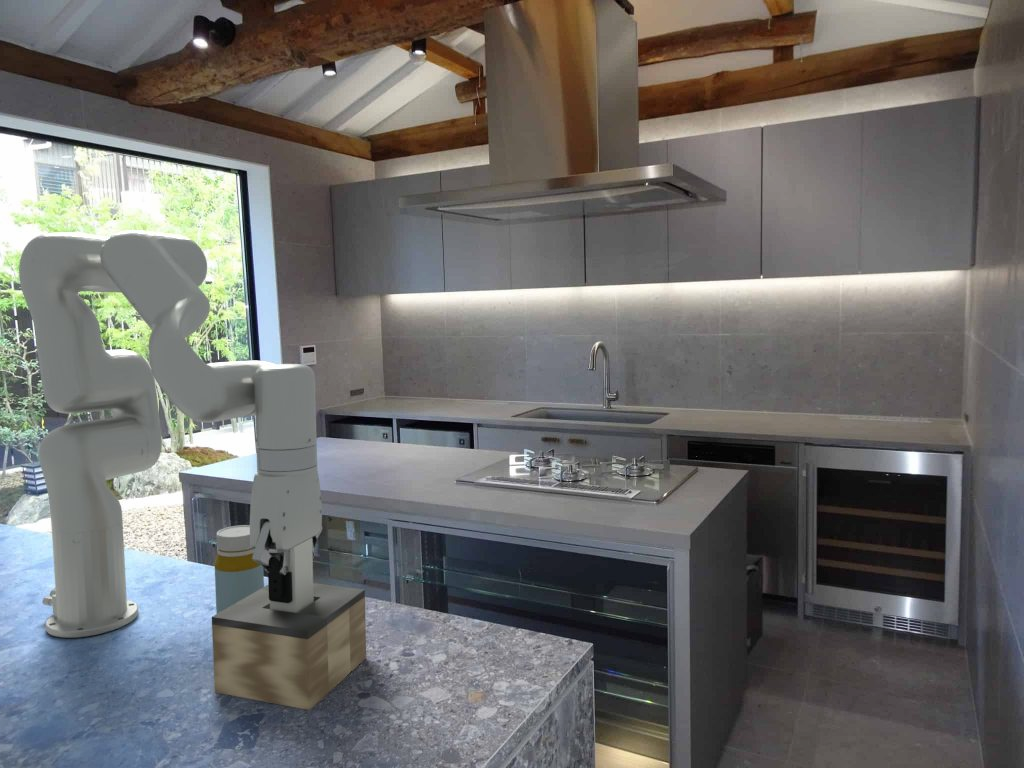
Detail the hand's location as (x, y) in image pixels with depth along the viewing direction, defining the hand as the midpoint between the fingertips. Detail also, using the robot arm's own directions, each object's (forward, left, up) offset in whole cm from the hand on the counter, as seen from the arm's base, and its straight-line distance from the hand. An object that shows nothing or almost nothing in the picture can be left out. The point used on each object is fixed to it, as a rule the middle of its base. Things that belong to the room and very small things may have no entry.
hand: (291, 593), depth 96 cm
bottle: (-17, +11, -11) cm, 23 cm away
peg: (0, 0, -3) cm, 3 cm away
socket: (0, 0, -11) cm, 11 cm away
